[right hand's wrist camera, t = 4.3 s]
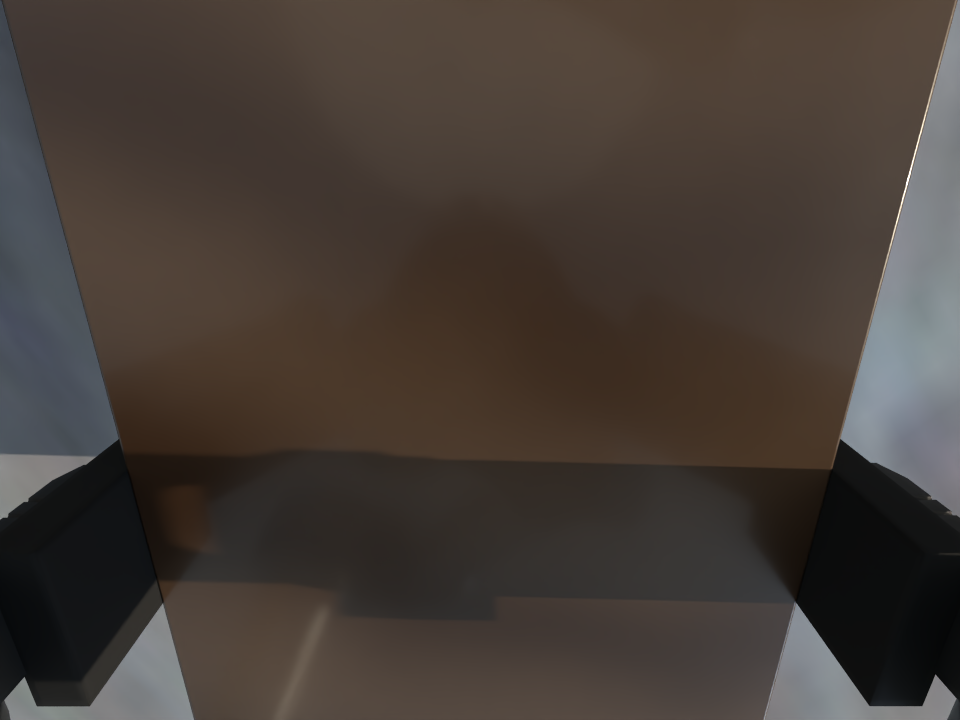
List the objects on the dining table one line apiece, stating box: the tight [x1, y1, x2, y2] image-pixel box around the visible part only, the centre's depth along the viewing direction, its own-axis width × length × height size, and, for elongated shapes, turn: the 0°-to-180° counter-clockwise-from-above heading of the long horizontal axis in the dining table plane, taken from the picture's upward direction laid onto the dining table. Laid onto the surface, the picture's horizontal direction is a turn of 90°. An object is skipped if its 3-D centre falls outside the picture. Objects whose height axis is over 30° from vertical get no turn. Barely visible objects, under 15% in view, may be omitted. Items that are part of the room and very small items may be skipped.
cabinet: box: [2, 0, 957, 720], centre depth 12 cm, size 22×11×10 cm, turn 0°
